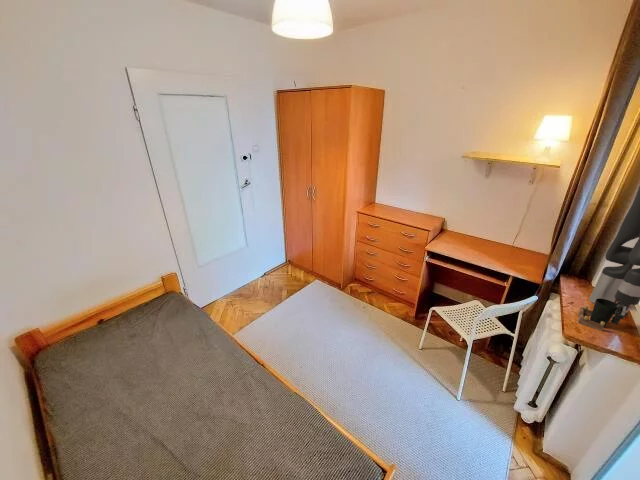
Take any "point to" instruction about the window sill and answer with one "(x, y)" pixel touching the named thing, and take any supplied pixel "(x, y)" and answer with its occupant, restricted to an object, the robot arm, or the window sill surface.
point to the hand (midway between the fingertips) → (613, 323)
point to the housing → (587, 322)
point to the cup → (603, 311)
